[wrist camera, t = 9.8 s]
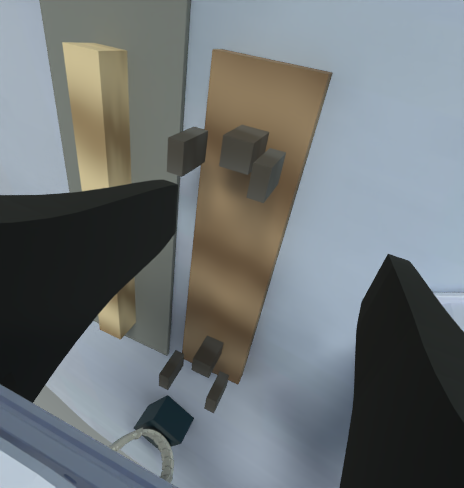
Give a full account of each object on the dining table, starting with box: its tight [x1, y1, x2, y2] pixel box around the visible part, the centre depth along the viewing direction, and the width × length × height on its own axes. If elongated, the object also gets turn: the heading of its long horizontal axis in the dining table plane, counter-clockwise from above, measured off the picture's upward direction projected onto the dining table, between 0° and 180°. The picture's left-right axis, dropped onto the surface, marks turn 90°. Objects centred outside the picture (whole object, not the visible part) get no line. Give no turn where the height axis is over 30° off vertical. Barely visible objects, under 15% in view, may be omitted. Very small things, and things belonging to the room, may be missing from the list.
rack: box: [159, 49, 332, 413], centre depth 21 cm, size 26×6×6 cm, turn 171°
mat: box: [39, 0, 191, 356], centre depth 26 cm, size 30×10×1 cm, turn 171°
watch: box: [109, 395, 194, 483], centre depth 36 cm, size 6×8×11 cm
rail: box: [62, 42, 136, 339], centre depth 25 cm, size 24×2×2 cm, turn 171°
